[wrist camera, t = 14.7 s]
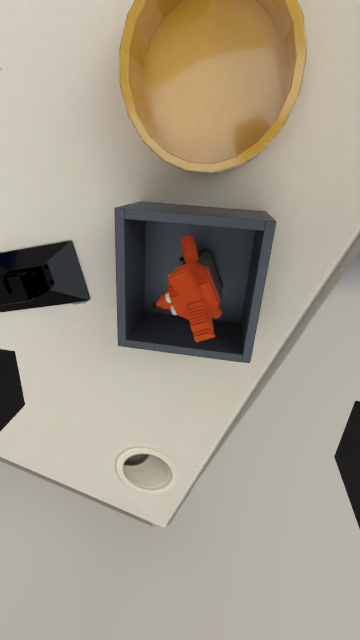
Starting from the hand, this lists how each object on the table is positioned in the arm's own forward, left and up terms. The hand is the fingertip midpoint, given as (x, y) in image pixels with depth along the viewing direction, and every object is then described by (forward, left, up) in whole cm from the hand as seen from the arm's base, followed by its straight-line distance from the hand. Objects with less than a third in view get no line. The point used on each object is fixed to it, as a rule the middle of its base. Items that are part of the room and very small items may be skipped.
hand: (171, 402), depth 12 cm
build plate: (+20, +4, -23) cm, 31 cm away
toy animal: (+2, +1, -23) cm, 23 cm away
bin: (+1, +1, -23) cm, 23 cm away
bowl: (+1, -15, -23) cm, 28 cm away
